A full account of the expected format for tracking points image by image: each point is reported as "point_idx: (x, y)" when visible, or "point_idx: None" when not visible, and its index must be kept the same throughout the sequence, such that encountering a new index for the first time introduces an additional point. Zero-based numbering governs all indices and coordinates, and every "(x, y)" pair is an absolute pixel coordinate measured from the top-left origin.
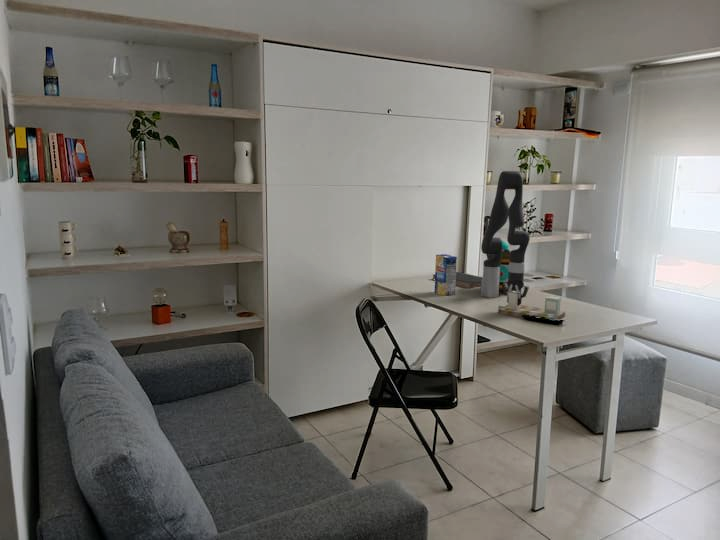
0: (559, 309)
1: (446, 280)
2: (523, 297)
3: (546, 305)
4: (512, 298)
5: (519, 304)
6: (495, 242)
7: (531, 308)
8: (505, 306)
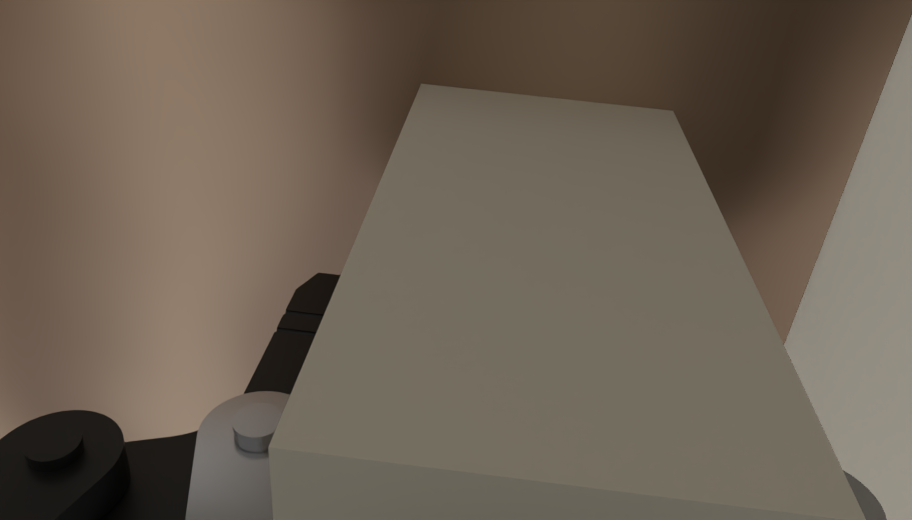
0: None
1: None
2: (44, 415)
3: None
4: (552, 273)
5: (330, 275)
6: None
7: (148, 390)
8: (775, 283)
